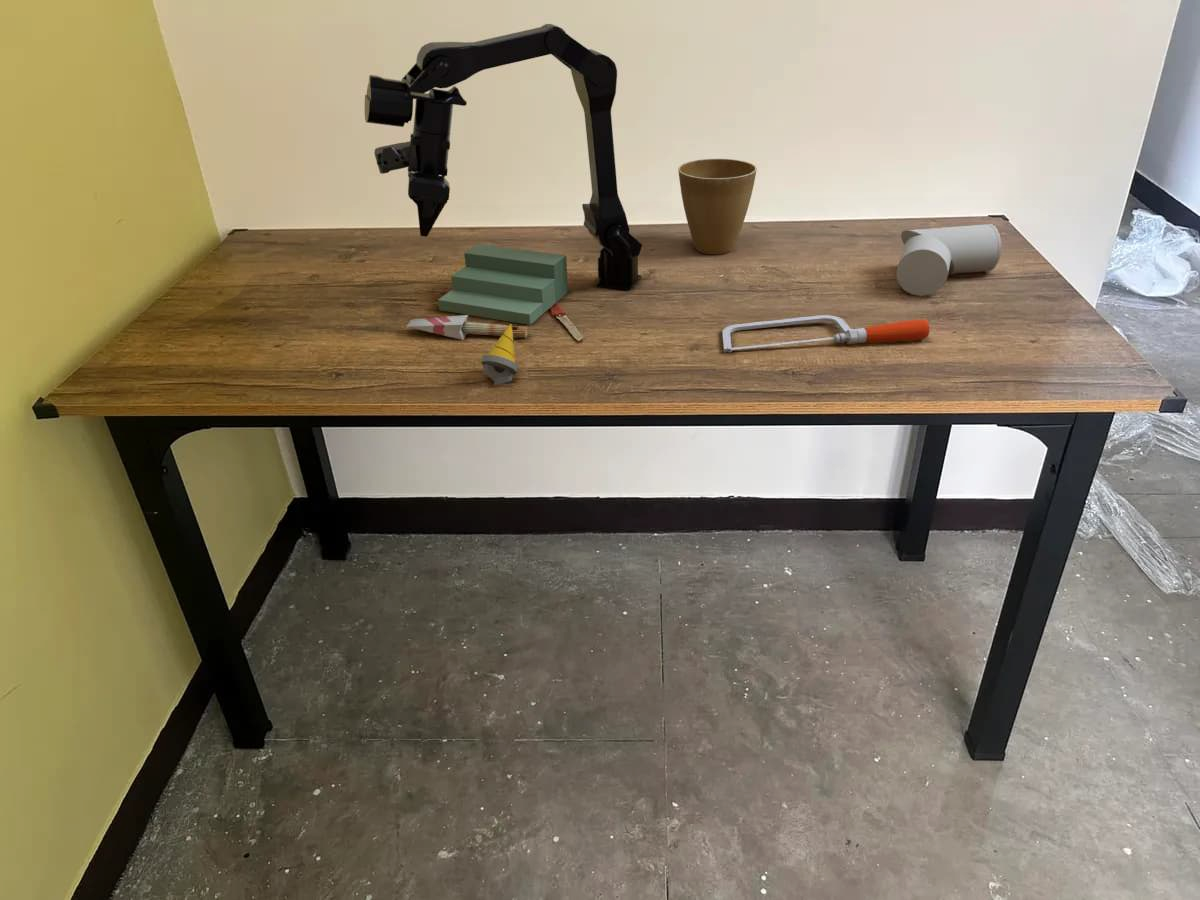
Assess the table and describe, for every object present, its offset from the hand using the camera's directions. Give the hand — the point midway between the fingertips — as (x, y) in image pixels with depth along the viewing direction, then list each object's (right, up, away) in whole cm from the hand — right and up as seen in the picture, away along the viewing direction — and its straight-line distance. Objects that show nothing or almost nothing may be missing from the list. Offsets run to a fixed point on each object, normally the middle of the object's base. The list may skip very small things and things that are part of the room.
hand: (423, 227), depth 147 cm
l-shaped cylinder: (+92, -5, +15) cm, 93 cm away
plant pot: (+52, +4, +31) cm, 61 cm away
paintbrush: (+7, -18, 0) cm, 19 cm away
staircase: (+12, -10, +11) cm, 20 cm away
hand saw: (+65, -19, -4) cm, 67 cm away
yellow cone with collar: (+14, -26, -12) cm, 32 cm away
